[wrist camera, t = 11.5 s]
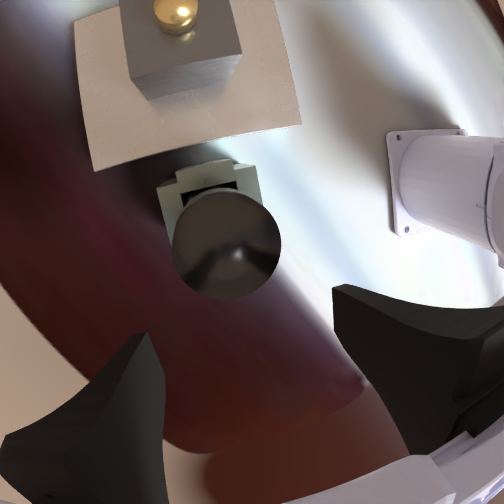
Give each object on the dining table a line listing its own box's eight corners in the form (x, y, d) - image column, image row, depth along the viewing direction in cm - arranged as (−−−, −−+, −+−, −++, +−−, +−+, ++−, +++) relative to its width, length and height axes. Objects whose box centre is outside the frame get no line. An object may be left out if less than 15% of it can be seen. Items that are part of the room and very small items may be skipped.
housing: (213, 15, 13) (226, -46, 7) (228, 82, 15) (249, 41, 9) (135, 33, 13) (110, -23, 7) (147, 100, 14) (121, 69, 8)
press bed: (261, -5, 15) (281, -42, 10) (305, 214, 20) (339, 232, 15) (83, 32, 14) (56, 2, 9) (127, 257, 19) (109, 288, 14)
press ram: (235, 170, 16) (271, 182, 9) (246, 228, 17) (288, 284, 10) (174, 184, 15) (159, 208, 8) (189, 242, 16) (188, 310, 9)
